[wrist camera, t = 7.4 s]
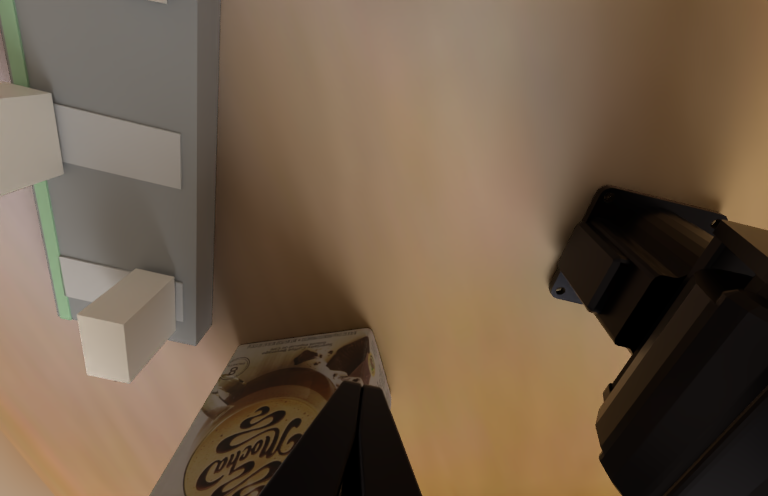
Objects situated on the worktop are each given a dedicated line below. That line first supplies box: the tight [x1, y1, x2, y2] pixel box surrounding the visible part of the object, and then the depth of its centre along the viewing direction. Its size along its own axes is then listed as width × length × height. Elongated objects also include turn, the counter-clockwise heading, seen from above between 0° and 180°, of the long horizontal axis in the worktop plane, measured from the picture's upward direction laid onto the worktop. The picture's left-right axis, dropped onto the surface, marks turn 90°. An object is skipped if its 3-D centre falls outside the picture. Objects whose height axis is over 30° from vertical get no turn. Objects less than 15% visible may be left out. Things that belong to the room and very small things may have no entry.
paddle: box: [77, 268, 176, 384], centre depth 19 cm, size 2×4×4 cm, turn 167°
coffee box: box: [149, 328, 391, 496], centre depth 18 cm, size 9×6×16 cm
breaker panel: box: [0, 0, 221, 346], centre depth 18 cm, size 8×22×2 cm, turn 167°
